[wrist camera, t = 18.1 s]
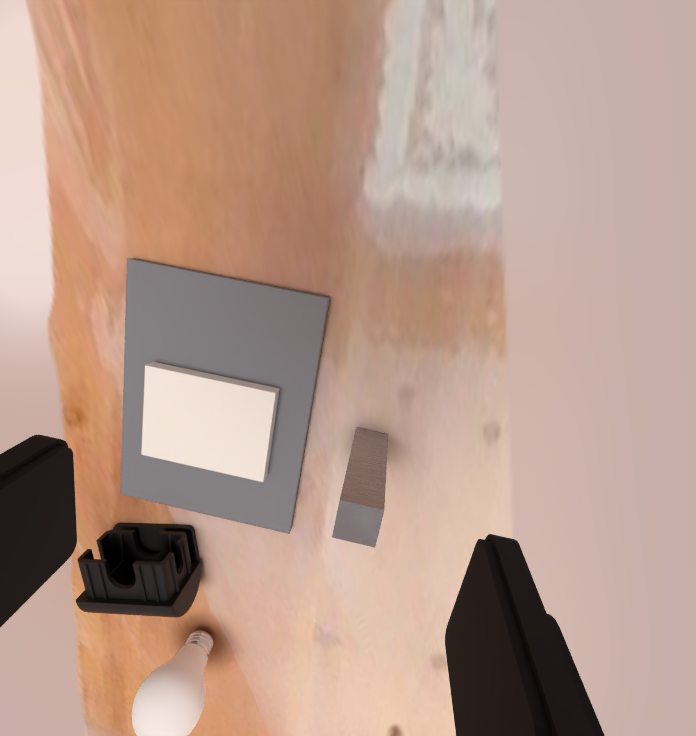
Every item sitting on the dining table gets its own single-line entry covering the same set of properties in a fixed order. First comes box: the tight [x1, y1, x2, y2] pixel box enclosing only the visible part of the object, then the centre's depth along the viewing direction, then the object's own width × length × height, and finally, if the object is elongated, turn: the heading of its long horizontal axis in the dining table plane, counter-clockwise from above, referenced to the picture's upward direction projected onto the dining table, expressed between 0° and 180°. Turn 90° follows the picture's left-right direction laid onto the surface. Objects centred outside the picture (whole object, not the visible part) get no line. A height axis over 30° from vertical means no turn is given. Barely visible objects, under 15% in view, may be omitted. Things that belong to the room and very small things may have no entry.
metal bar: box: [332, 427, 388, 547], centre depth 34 cm, size 3×3×12 cm
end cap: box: [76, 523, 201, 617], centre depth 43 cm, size 10×7×7 cm
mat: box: [121, 259, 330, 534], centre depth 40 cm, size 24×18×1 cm
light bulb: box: [132, 630, 213, 736], centre depth 43 cm, size 7×7×11 cm
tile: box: [141, 362, 280, 482], centre depth 39 cm, size 2×12×9 cm
